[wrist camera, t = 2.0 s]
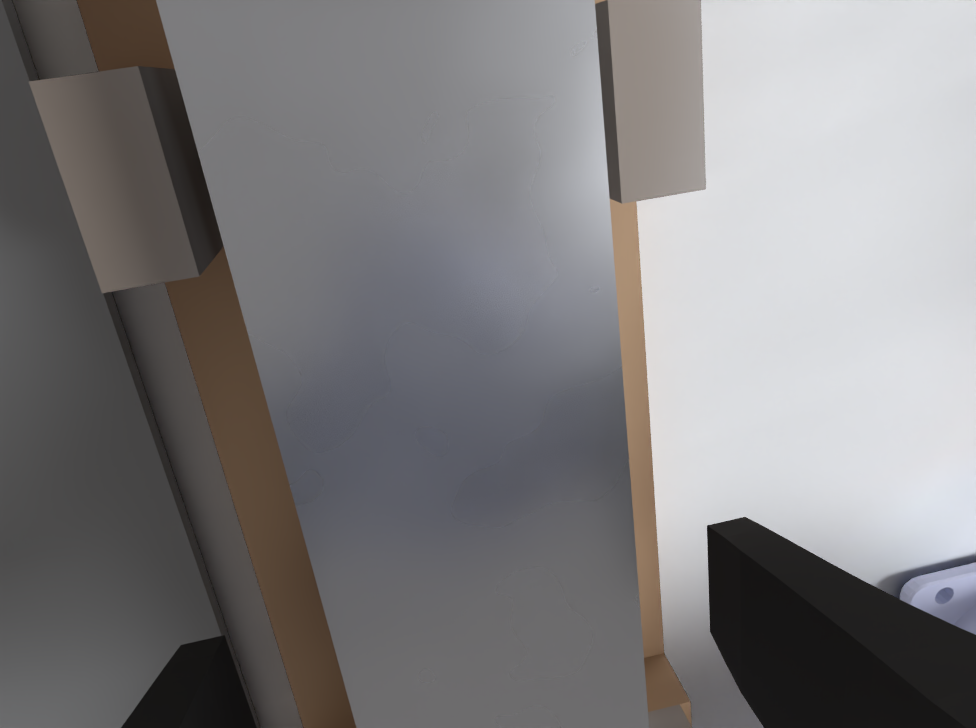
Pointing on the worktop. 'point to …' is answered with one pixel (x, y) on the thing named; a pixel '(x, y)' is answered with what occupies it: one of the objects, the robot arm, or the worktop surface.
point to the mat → (77, 462)
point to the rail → (434, 339)
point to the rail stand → (219, 320)
